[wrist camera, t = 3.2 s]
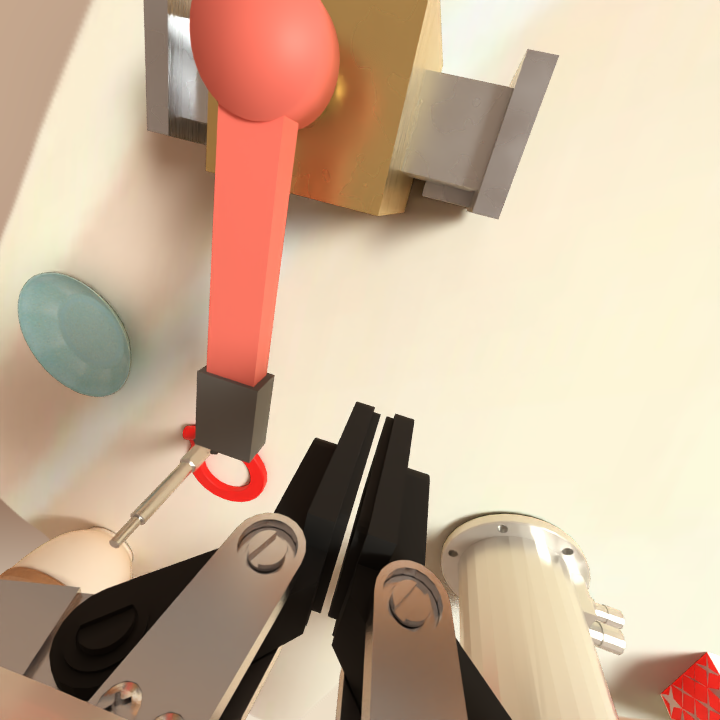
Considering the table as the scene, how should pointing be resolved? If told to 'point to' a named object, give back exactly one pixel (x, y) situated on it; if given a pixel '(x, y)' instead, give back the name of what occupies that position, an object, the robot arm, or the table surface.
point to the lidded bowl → (76, 562)
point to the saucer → (74, 334)
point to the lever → (253, 192)
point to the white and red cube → (696, 691)
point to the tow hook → (197, 466)
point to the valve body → (371, 110)
